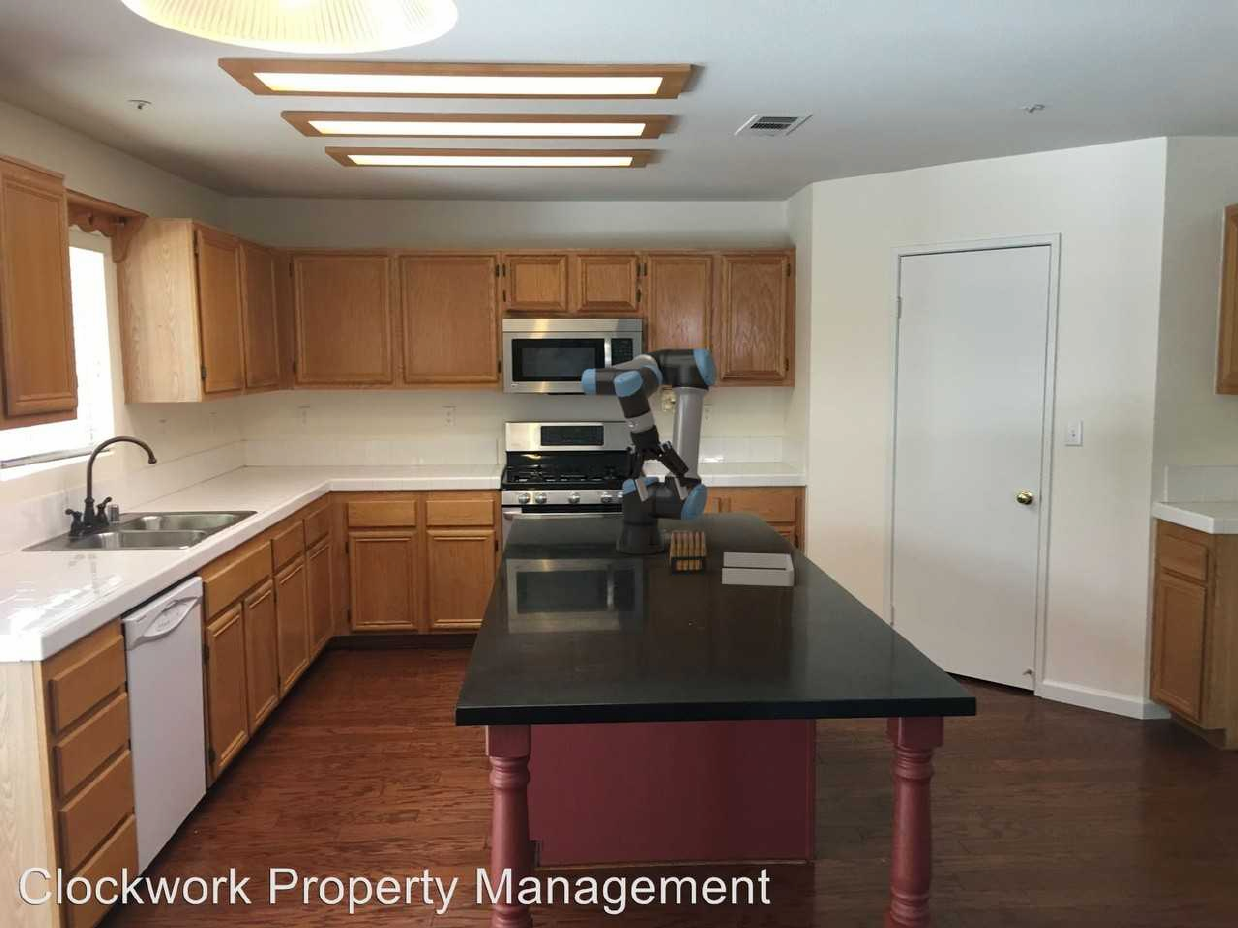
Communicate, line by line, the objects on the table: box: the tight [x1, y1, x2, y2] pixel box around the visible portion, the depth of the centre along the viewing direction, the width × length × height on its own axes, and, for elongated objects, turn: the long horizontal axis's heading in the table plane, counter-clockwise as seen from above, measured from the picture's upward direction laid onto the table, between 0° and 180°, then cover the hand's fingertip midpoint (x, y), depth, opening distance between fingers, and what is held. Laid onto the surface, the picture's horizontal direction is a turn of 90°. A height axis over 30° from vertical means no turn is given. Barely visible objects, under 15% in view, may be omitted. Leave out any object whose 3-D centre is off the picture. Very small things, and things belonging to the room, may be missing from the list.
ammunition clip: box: [668, 531, 708, 575], centre depth 263 cm, size 11×2×12 cm, turn 98°
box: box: [721, 551, 795, 587], centre depth 261 cm, size 22×19×4 cm
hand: (664, 498), depth 257 cm, fingers open, 13 cm apart
